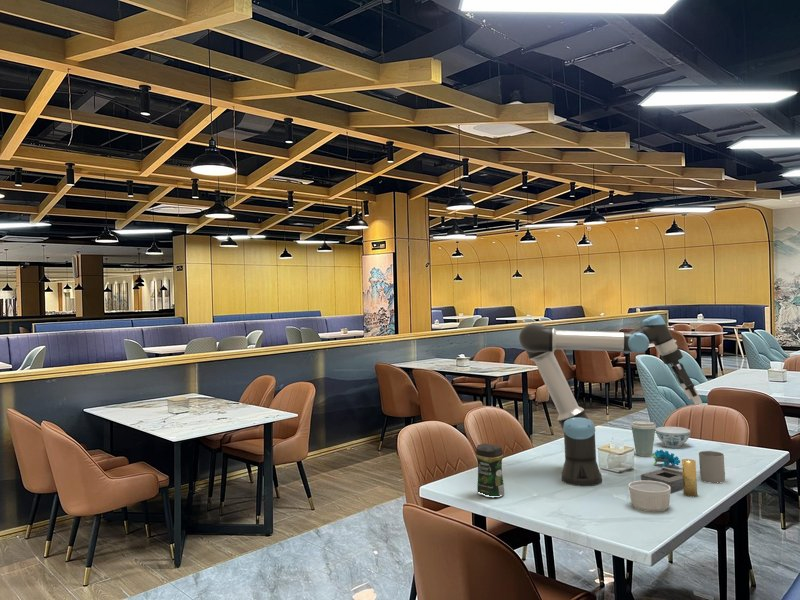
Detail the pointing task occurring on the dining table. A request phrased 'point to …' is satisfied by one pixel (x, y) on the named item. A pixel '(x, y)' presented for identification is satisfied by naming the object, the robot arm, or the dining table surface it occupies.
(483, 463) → the coffee jar
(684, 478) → the brass cylinder peg
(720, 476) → the cup
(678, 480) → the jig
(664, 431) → the chinaware
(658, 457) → the gear
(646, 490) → the ramekin
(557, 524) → the dining table surface
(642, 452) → the disposable coffee cup
